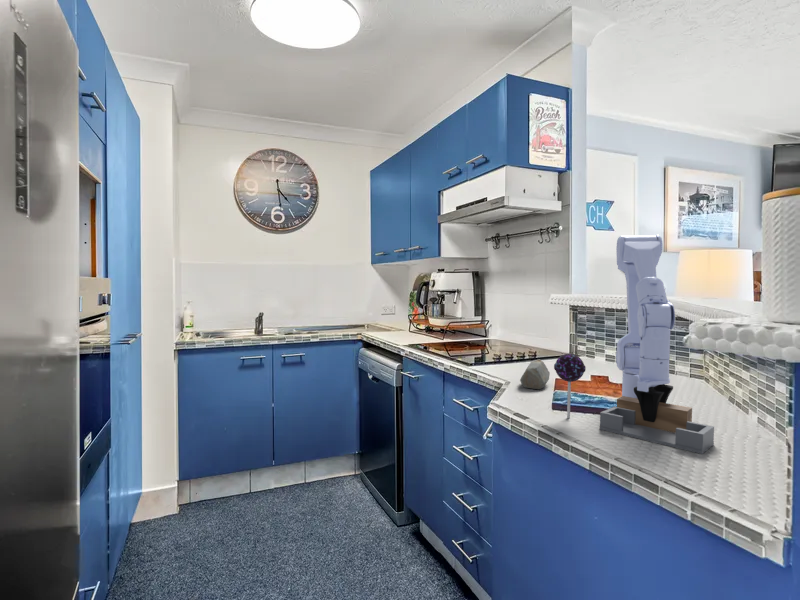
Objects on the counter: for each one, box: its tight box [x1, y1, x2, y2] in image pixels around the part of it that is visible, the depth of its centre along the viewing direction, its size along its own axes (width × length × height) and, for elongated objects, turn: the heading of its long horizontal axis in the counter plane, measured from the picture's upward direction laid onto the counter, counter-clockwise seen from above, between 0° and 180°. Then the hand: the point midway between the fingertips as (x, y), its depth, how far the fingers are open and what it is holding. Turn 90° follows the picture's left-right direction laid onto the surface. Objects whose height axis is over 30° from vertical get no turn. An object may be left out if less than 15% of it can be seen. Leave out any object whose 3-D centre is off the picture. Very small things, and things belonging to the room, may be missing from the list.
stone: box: [519, 358, 550, 390], centre depth 140 cm, size 12×8×8 cm, turn 154°
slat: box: [616, 395, 693, 433], centre depth 101 cm, size 4×14×5 cm, turn 46°
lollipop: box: [553, 353, 587, 419], centre depth 106 cm, size 7×7×15 cm
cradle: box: [599, 406, 715, 455], centre depth 94 cm, size 8×19×4 cm, turn 42°
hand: (652, 418), depth 101 cm, fingers closed on slat, 4 cm apart
